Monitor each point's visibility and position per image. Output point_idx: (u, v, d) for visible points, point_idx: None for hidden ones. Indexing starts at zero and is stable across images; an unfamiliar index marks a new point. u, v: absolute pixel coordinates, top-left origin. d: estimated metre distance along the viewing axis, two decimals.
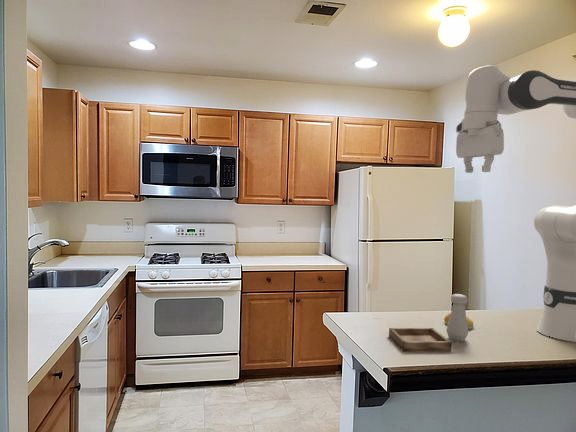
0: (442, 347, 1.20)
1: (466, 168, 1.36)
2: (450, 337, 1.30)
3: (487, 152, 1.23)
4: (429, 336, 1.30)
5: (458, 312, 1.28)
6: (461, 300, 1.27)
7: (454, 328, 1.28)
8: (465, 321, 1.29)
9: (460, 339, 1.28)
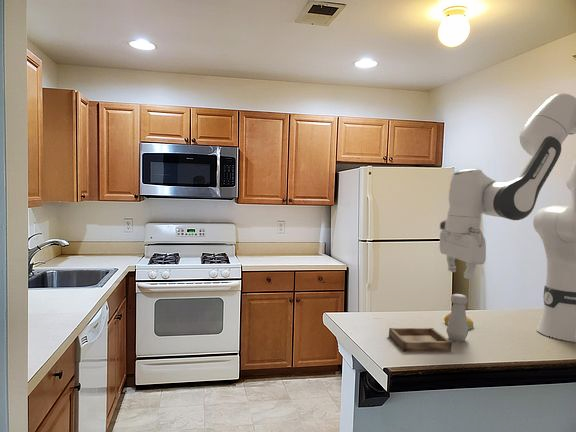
0: (442, 347, 1.20)
1: (449, 267, 1.34)
2: (450, 337, 1.30)
3: (469, 261, 1.21)
4: (429, 336, 1.30)
5: (458, 312, 1.28)
6: (461, 300, 1.27)
7: (454, 328, 1.28)
8: (465, 321, 1.29)
9: (460, 339, 1.28)
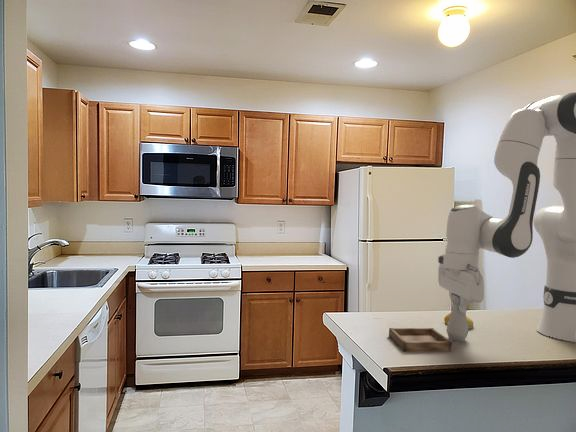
0: (442, 347, 1.20)
1: (452, 303, 1.32)
2: (450, 337, 1.30)
3: (467, 299, 1.21)
4: (429, 336, 1.30)
5: (458, 312, 1.28)
6: None
7: (454, 328, 1.28)
8: (465, 321, 1.29)
9: (460, 339, 1.28)
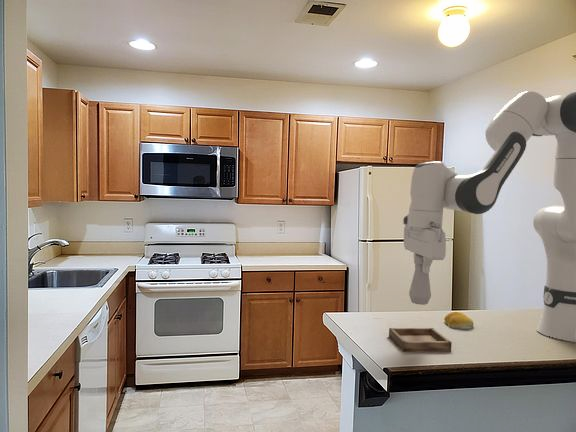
0: (442, 347, 1.20)
1: (415, 265, 1.27)
2: (412, 300, 1.24)
3: (428, 257, 1.16)
4: (429, 336, 1.30)
5: (420, 273, 1.23)
6: None
7: (416, 290, 1.23)
8: (428, 283, 1.23)
9: (422, 302, 1.23)
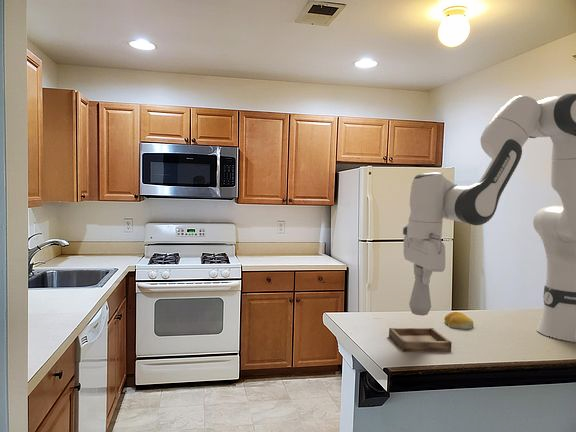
0: (442, 347, 1.20)
1: (415, 275, 1.27)
2: (412, 311, 1.25)
3: (428, 268, 1.16)
4: (429, 336, 1.30)
5: (420, 284, 1.23)
6: None
7: (416, 301, 1.23)
8: (428, 294, 1.24)
9: (422, 312, 1.23)
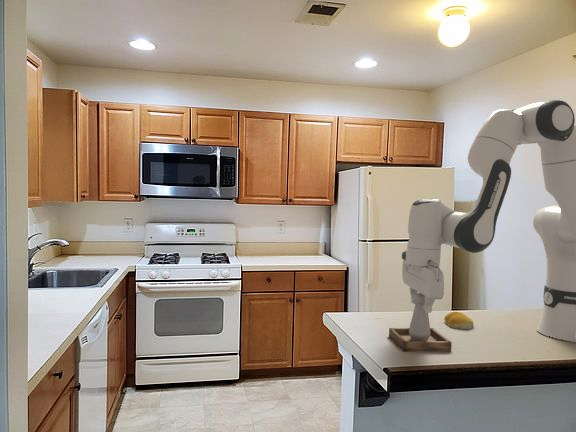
0: (442, 347, 1.20)
1: (411, 299, 1.30)
2: (412, 338, 1.25)
3: (427, 296, 1.17)
4: None
5: (420, 312, 1.24)
6: (423, 300, 1.23)
7: (415, 329, 1.24)
8: (428, 322, 1.24)
9: (422, 340, 1.24)
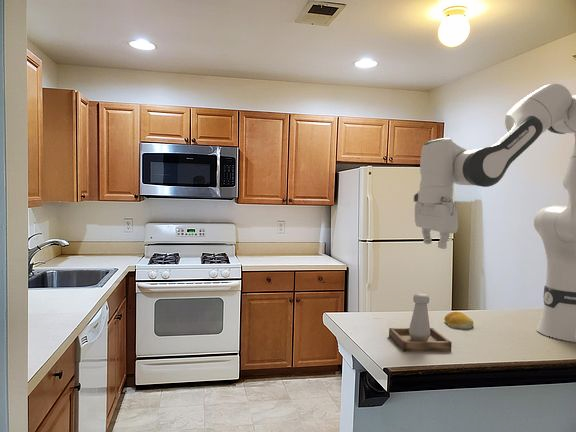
0: (442, 347, 1.20)
1: (424, 239, 1.33)
2: (412, 338, 1.25)
3: (441, 231, 1.20)
4: None
5: (420, 312, 1.24)
6: (423, 300, 1.23)
7: (415, 329, 1.24)
8: (428, 322, 1.24)
9: (422, 340, 1.24)
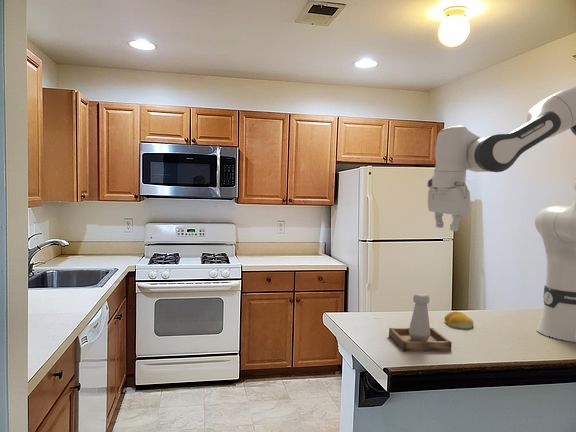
0: (442, 347, 1.20)
1: (437, 223, 1.38)
2: (412, 338, 1.25)
3: (454, 213, 1.26)
4: None
5: (420, 312, 1.24)
6: (423, 300, 1.23)
7: (415, 329, 1.24)
8: (428, 322, 1.24)
9: (422, 340, 1.24)
